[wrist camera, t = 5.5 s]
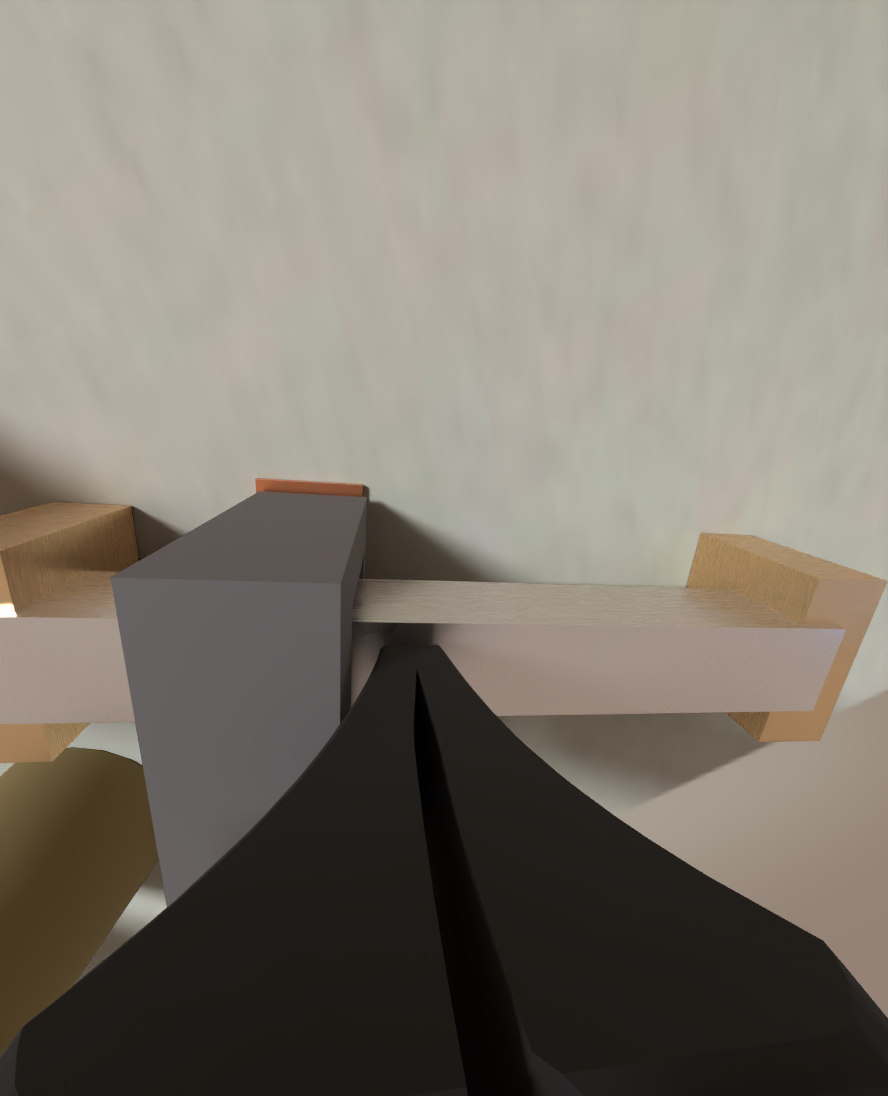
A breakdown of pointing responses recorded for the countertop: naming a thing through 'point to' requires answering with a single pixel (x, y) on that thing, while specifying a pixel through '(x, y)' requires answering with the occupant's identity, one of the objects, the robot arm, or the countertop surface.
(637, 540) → the countertop surface
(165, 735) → the collar
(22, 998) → the brown pawn figure
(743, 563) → the rail
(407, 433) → the countertop surface
